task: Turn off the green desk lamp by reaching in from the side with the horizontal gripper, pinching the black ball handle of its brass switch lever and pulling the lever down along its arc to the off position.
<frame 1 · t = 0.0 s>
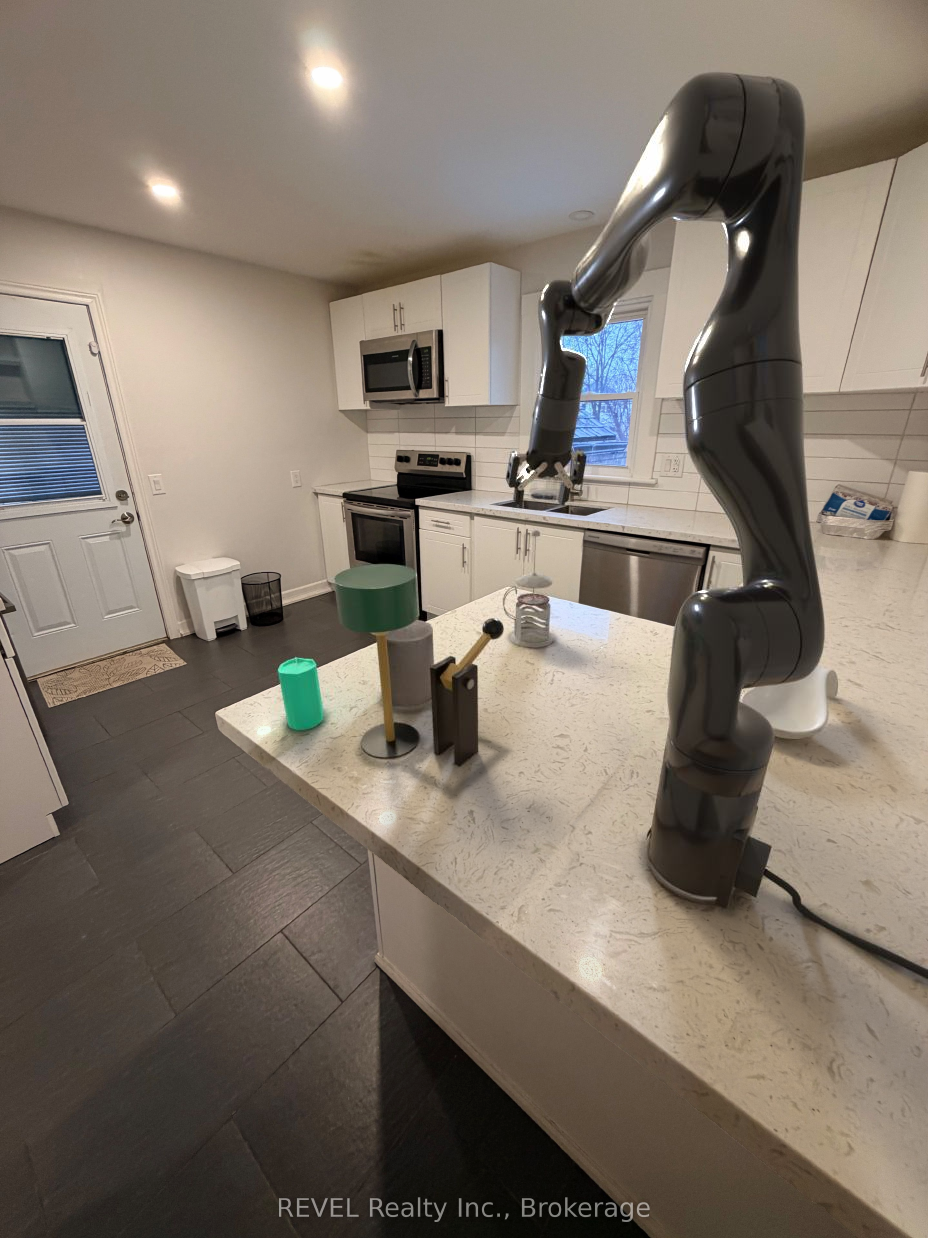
hand: (540, 504, 95), 31 cm above the countertop, tool tilted 20°, fingers open, 8 cm apart
spoon rest: (792, 716, 83), on the countertop
pillar candle: (409, 698, 90), on the countertop
switch bracket: (456, 759, 74), on the countertop
desk lamp: (391, 746, 77), on the countertop
switch lever: (474, 652, 71), point 16 cm above the countertop, hinge at 25.0°
french press: (527, 639, 113), on the countertop
candle: (306, 720, 84), on the countertop
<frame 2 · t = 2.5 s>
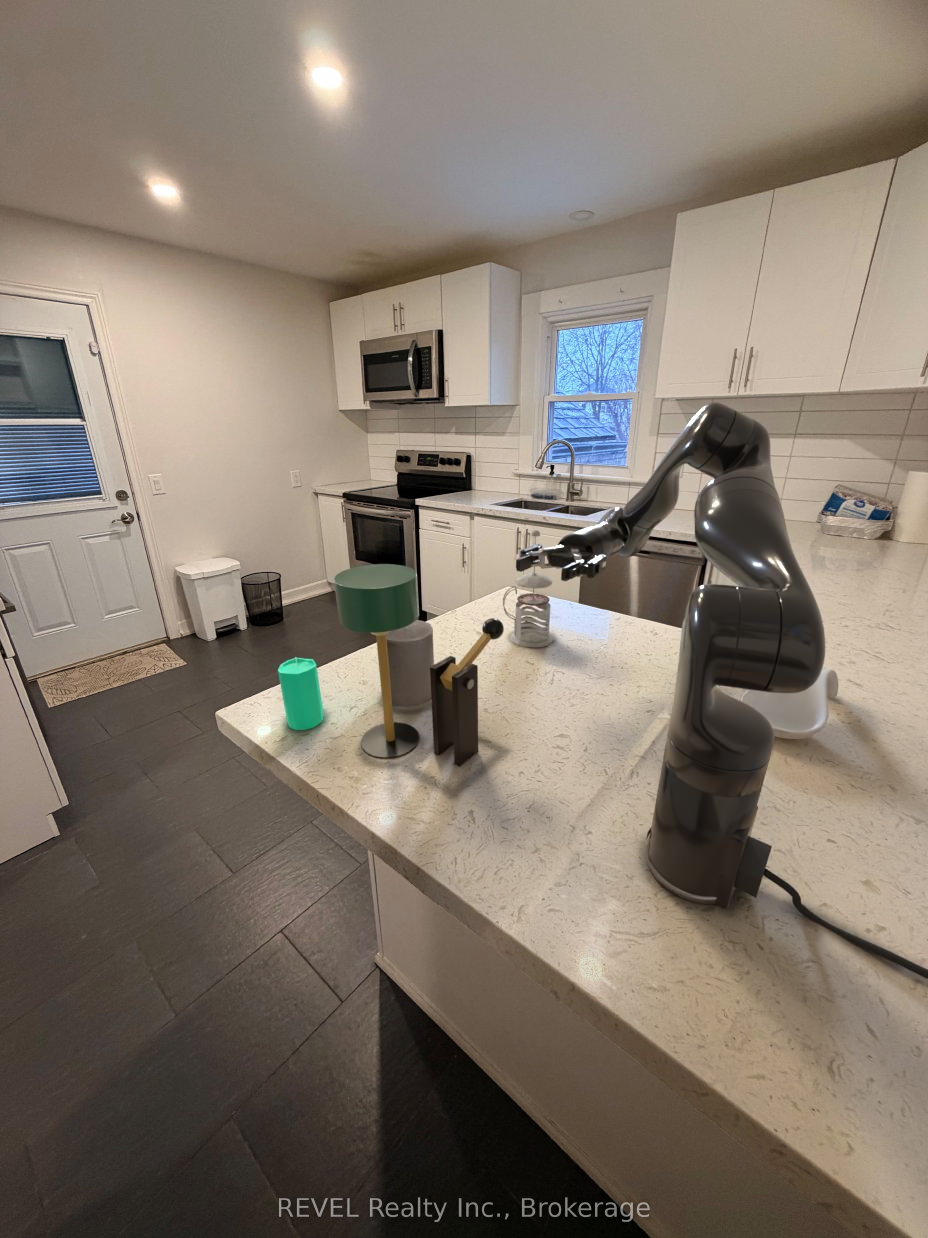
hand: (540, 570, 80), 24 cm above the countertop, tool horizontal, fingers open, 8 cm apart
nothing on the countertop moved.
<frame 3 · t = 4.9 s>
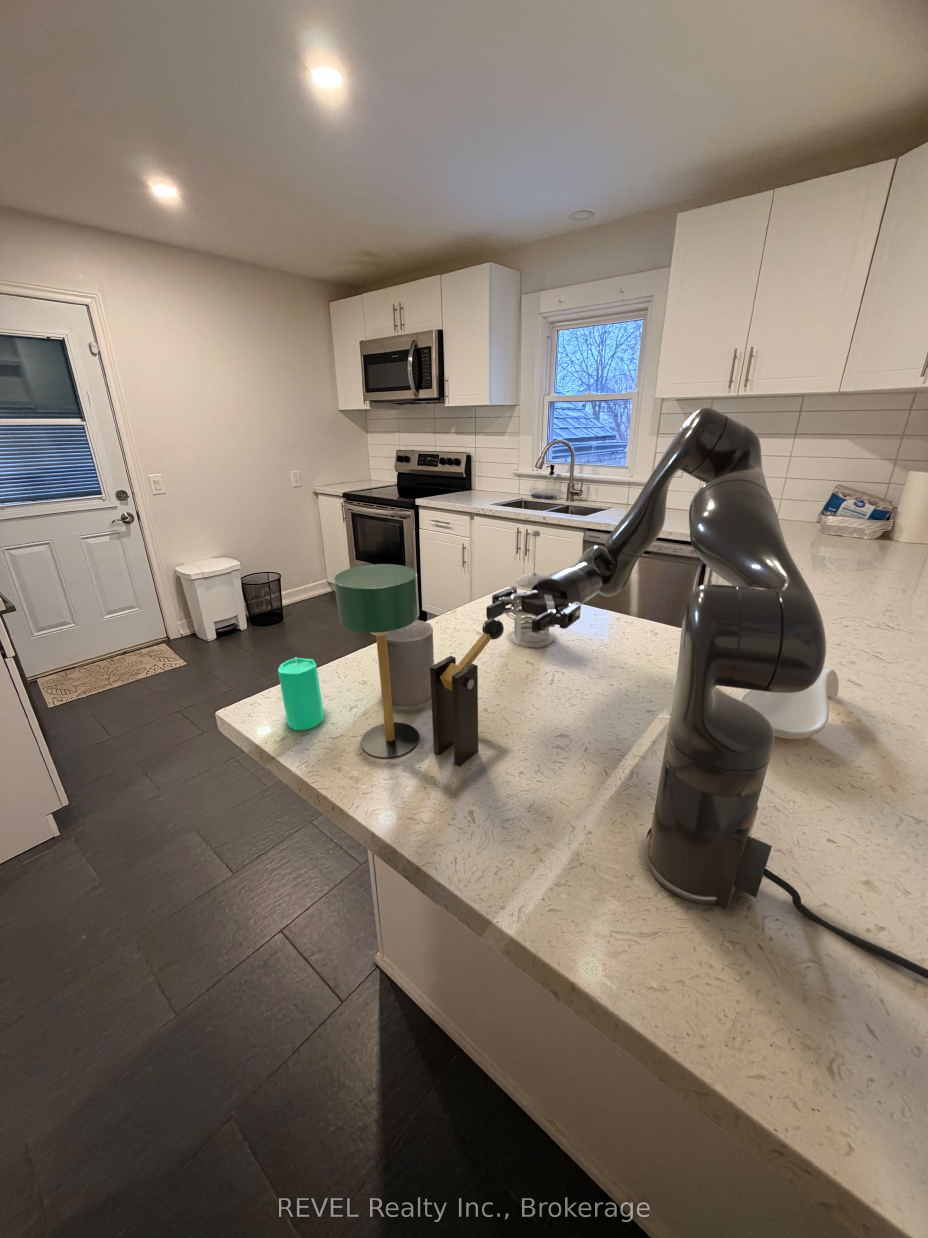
hand: (510, 620, 77), 18 cm above the countertop, tool horizontal, fingers open, 8 cm apart
nothing on the countertop moved.
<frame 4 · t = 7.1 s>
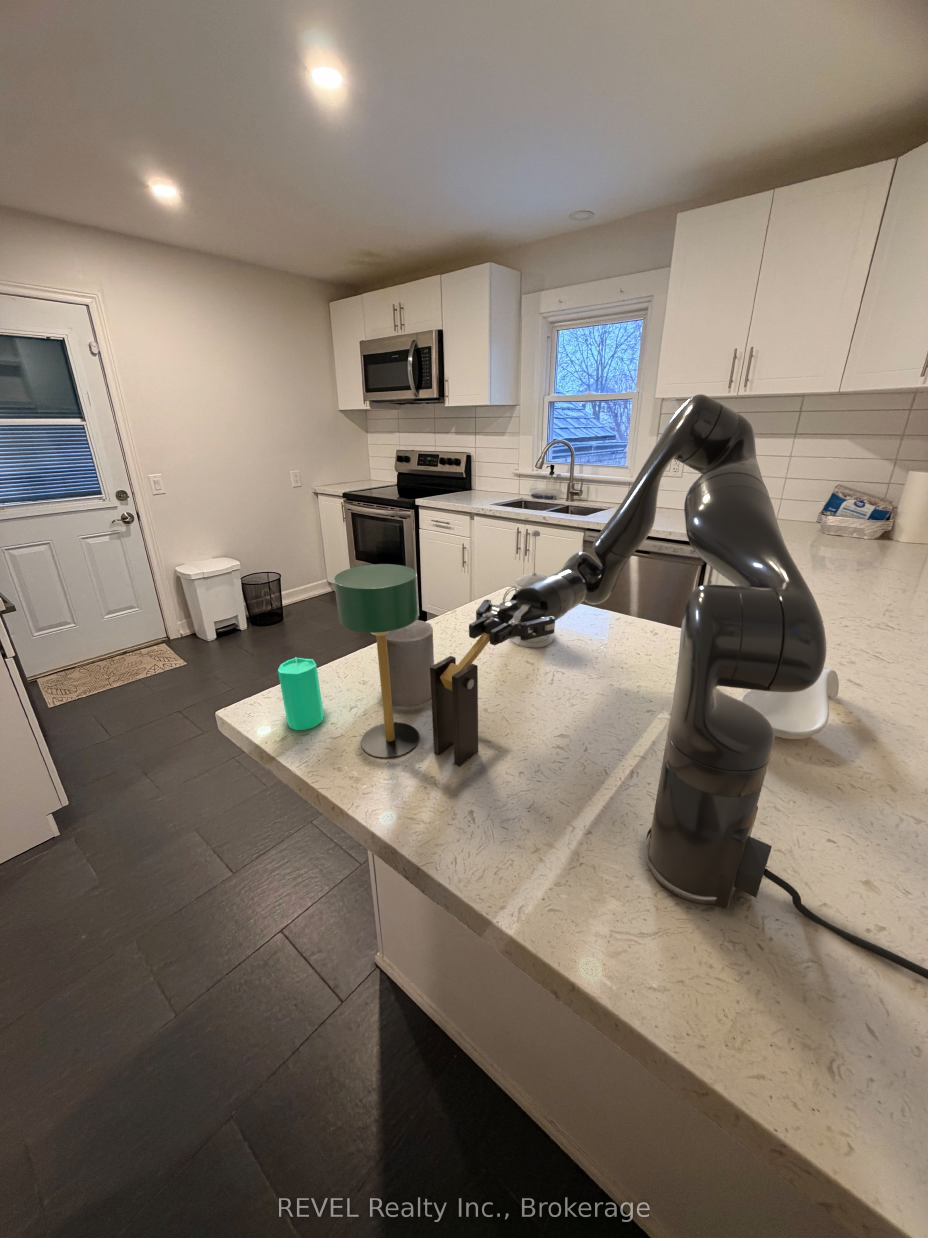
hand: (481, 635, 71), 18 cm above the countertop, tool horizontal, fingers closed on switch lever, 3 cm apart
switch lever: (474, 652, 71), point 16 cm above the countertop, hinge at 25.0°, touching gripper
everything else where it was.
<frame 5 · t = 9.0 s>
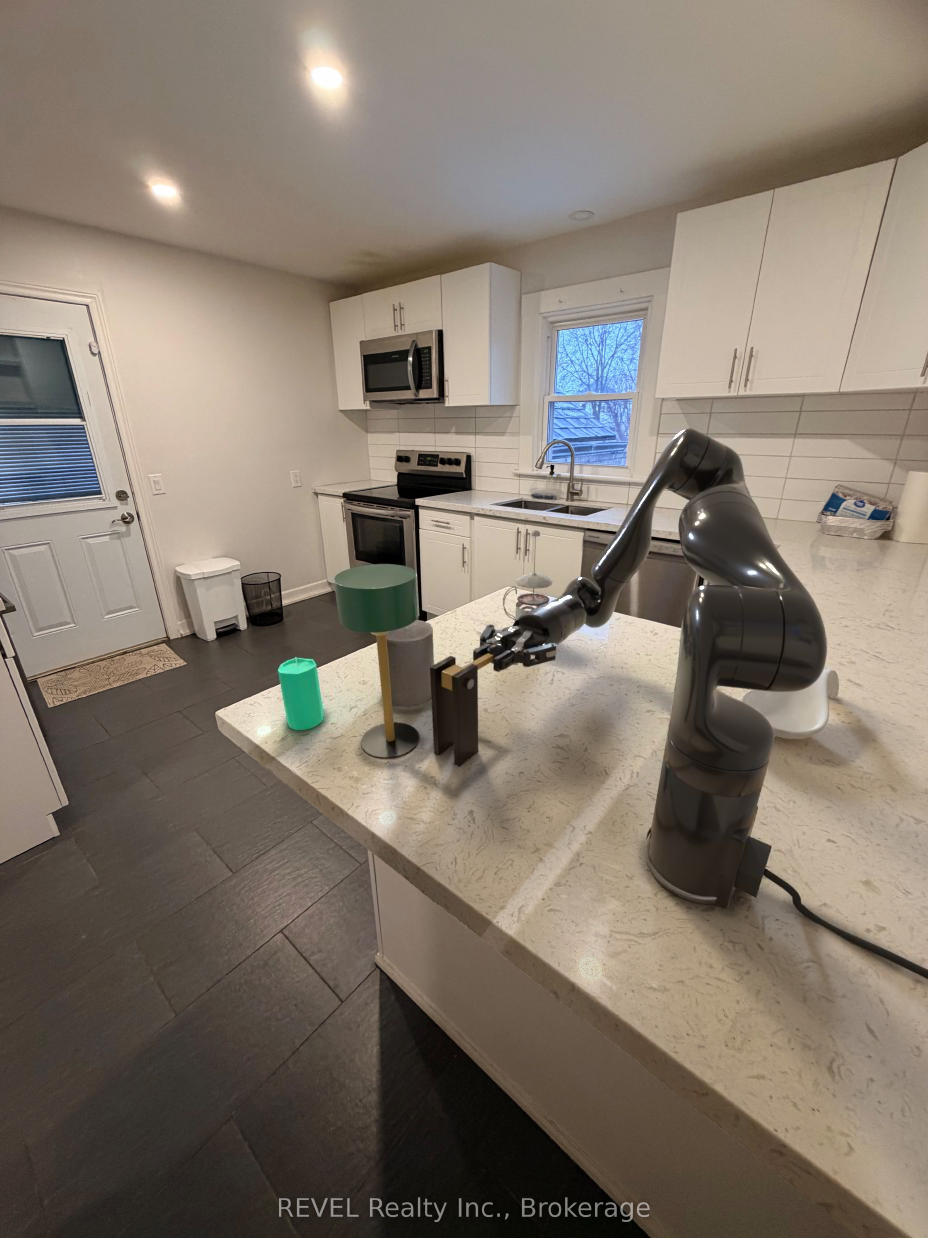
hand: (485, 661, 74), 14 cm above the countertop, tool horizontal, fingers closed on switch lever, 3 cm apart
switch lever: (476, 664, 72), point 14 cm above the countertop, hinge at -1.7°, touching gripper
everything else where it was.
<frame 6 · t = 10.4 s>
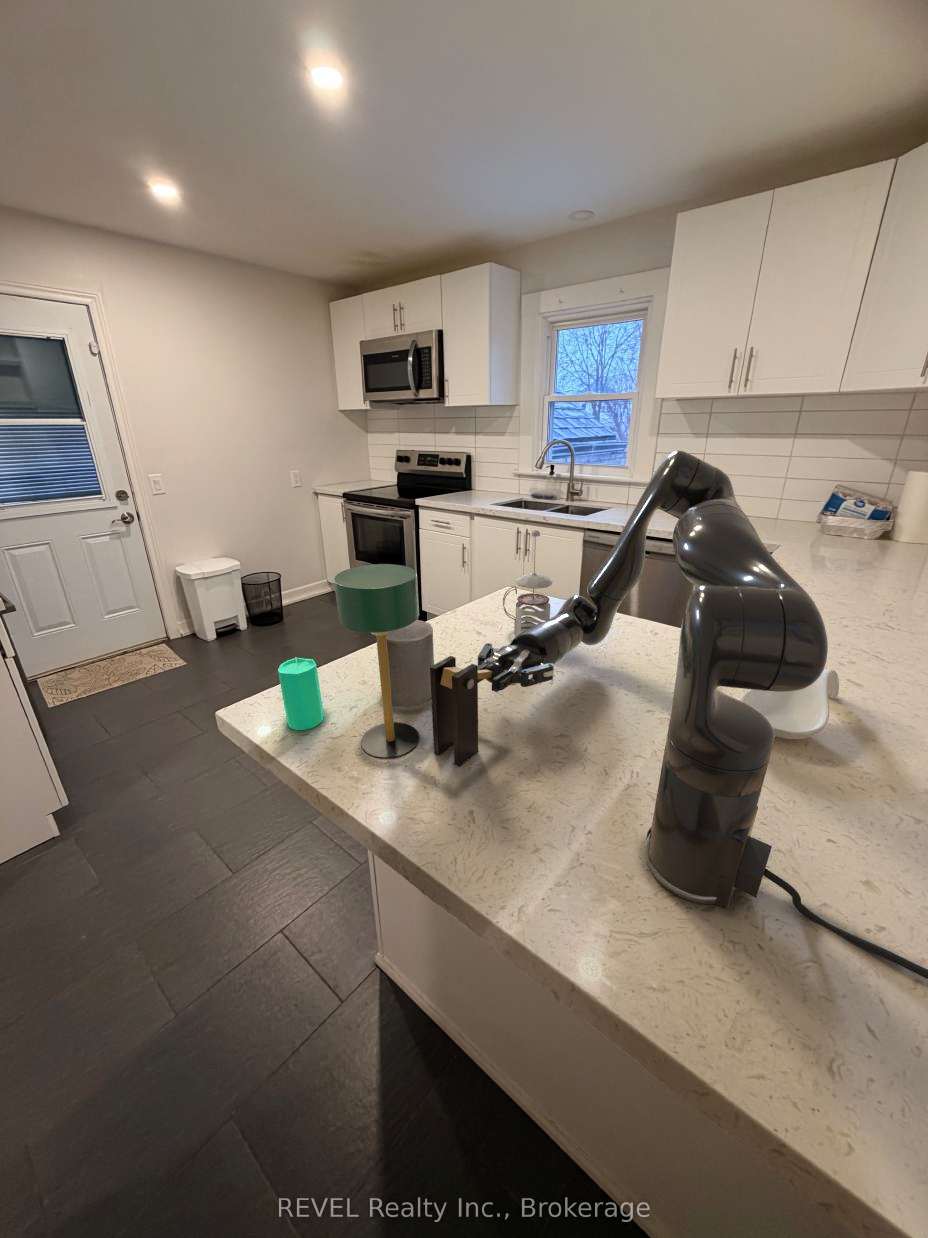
hand: (483, 681, 75), 10 cm above the countertop, tool horizontal, fingers open, 3 cm apart
switch lever: (475, 675, 73), point 12 cm above the countertop, hinge at -19.7°
everything else where it was.
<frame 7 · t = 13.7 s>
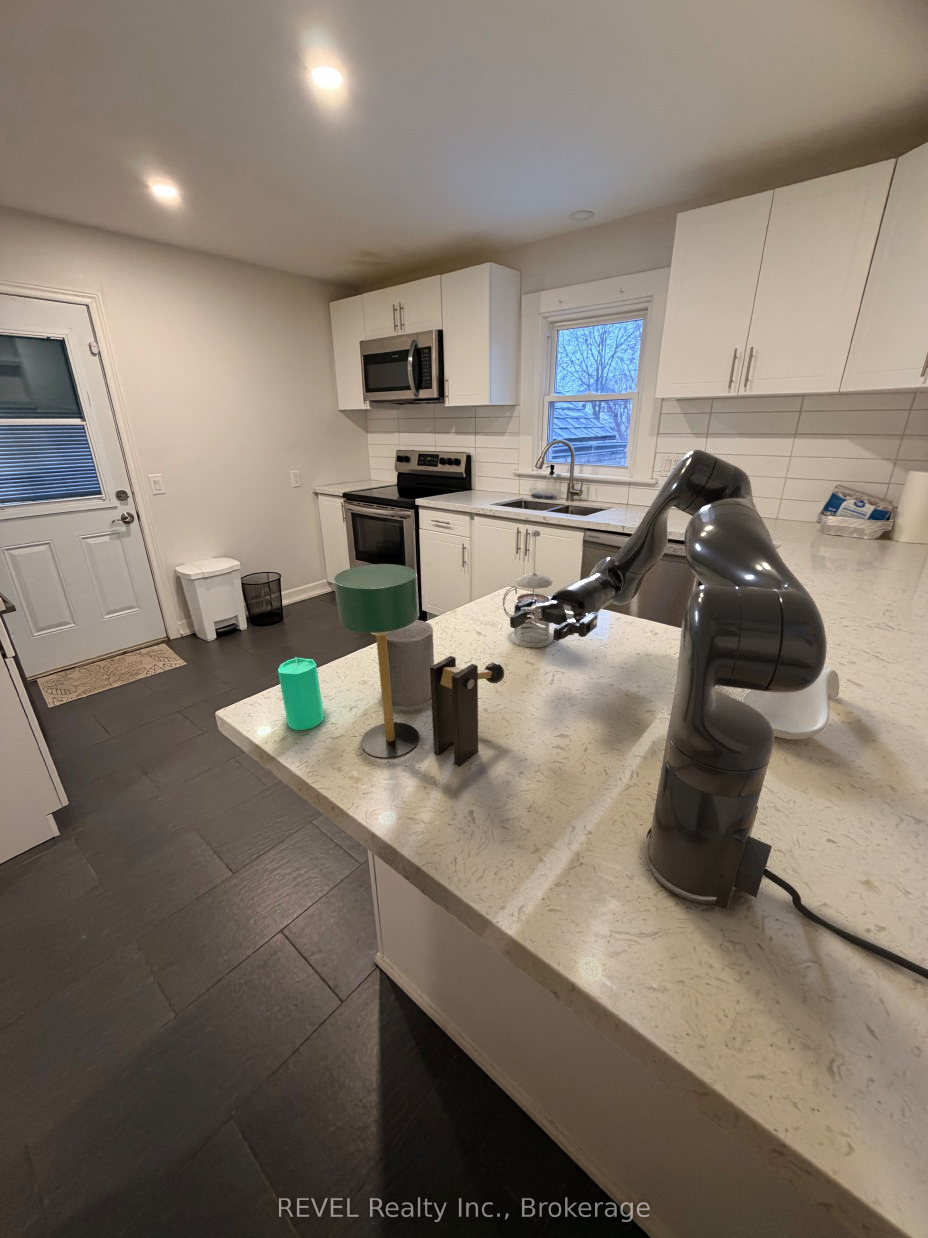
hand: (533, 629, 83), 14 cm above the countertop, tool horizontal, fingers open, 8 cm apart
nothing on the countertop moved.
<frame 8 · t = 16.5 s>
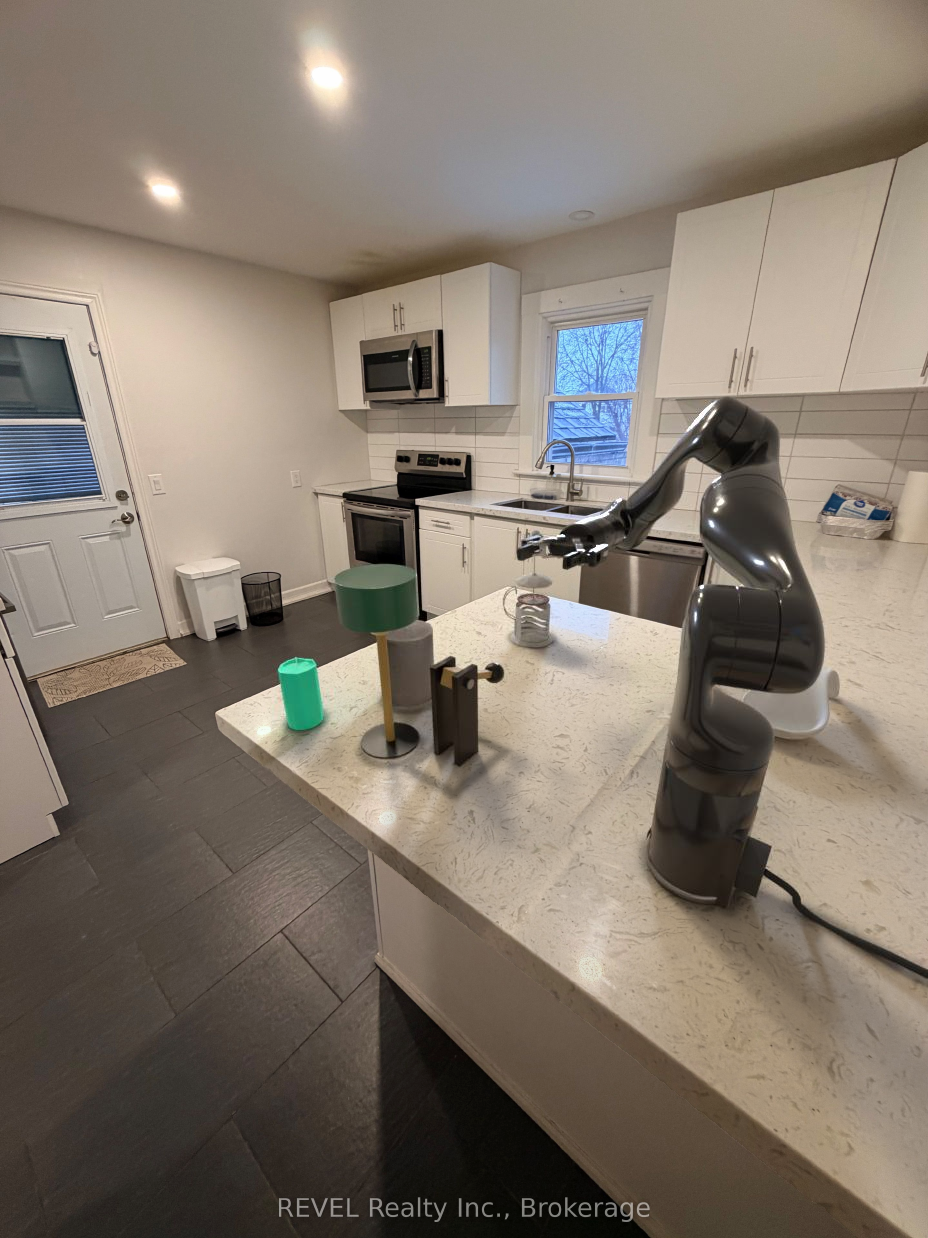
hand: (541, 559, 80), 26 cm above the countertop, tool horizontal, fingers open, 8 cm apart
nothing on the countertop moved.
at the end: switch lever at -20° (first picture: +25°); the gripper is holding nothing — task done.
